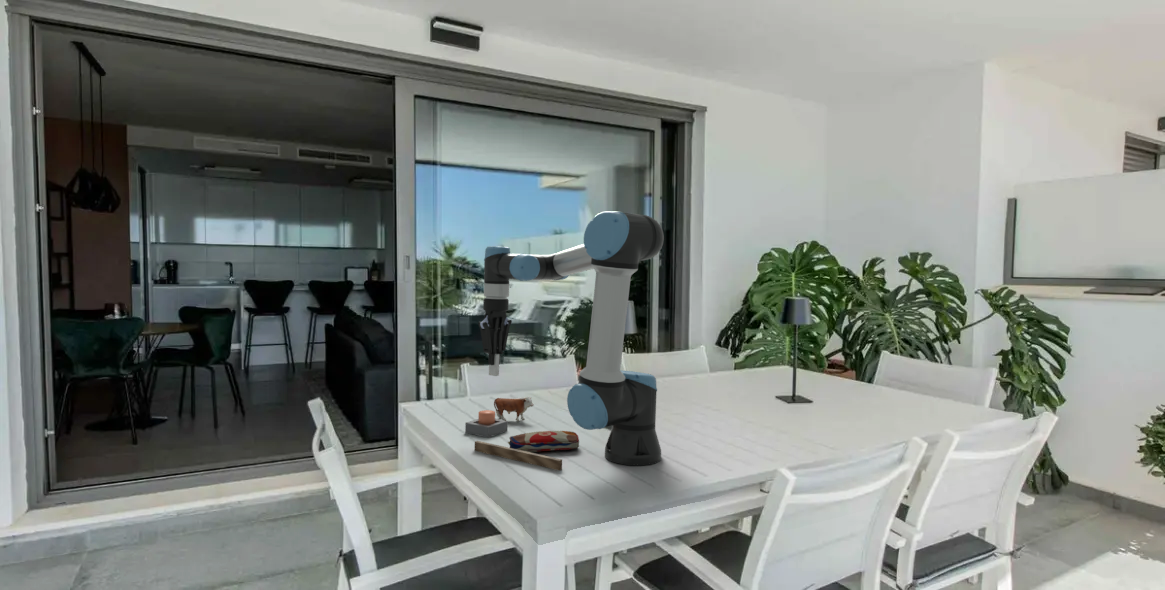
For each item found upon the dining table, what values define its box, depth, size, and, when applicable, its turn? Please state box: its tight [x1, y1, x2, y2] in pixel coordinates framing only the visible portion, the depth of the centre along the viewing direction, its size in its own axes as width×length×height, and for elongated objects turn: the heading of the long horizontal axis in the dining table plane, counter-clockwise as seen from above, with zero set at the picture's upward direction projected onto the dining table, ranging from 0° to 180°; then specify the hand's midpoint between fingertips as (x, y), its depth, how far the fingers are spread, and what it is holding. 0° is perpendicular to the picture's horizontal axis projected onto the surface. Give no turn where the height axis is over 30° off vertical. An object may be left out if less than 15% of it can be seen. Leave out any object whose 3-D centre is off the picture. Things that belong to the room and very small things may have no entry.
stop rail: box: [474, 440, 563, 471], centre depth 162 cm, size 28×1×2 cm, turn 58°
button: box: [477, 409, 496, 425], centre depth 188 cm, size 5×5×4 cm
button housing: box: [464, 418, 509, 438], centre depth 188 cm, size 9×9×3 cm
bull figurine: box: [493, 396, 535, 422], centre depth 203 cm, size 4×13×8 cm, turn 81°
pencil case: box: [507, 430, 580, 453], centre depth 171 cm, size 11×20×5 cm, turn 90°
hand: (493, 375), depth 187 cm, fingers closed
